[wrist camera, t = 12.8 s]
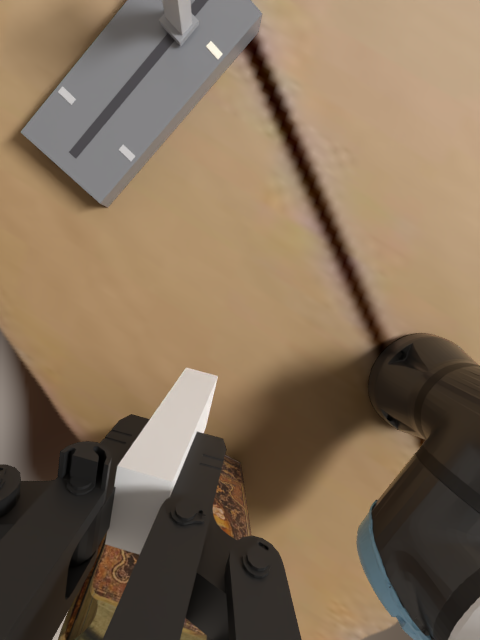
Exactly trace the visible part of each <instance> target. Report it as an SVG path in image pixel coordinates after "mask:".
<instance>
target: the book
mask: <svg viewBox="0 0 480 640" xmlns="http://www.w3.org/2000/svg"><path fill="white" fill-rule="evenodd" d="M213 515H214V518H215V520H216V522H217V524H218V525H219V527H220V528H221V529H222V530H223V531H224V532H226V533H227V534H228V535H230V536H231V537H233V538H234V539H236V540H239V539H241V538H242V537H246V536H251V529H250V522H249V515H248V508H247V501H246V494H245V488H244V481H243V474H242V467H241V464H240V462H238V461H236V460H234V459H232V458H230V457H228V456H226V455H225V457H224V461H223V466H222V470H221V474H220V478H219V482H218V486H217V490H216V494H215V498H214V502H213ZM106 536H107V532H106V534H105V536H104V538H103V539H102V541H101V543H100V545H99V546H98V553H97V557H96V560H95V563H94V565H93V567H92V569H91V571H90V572H89V574H88V576H87V578H86V580H85V581H84V583H83V585H82V587H81V589H80V590H79V592H78V594H77V596H76V598H75V599H74V601H73V603H72V605H71V607H70V608H69V611H68V613H67V616H66V618H65V621H64V624H63V626H62V629H61V632H60V635H59V638H58V640H102V639H103V637H104V635H105V632H106V630H107V628H108V626H109V623H110V621H111V619H112V617H113V614H114V612H115V610H116V607H117V605H118V603H119V601H120V598H121V596H122V594H123V591H124V589H125V587H126V585H127V582H128V580H129V578H130V575H131V573H132V571H133V569H134V566H135V564H136V562H137V560H138V557H139V554H136V553H133V552H129V551H126V550H123V549H119V548H116V547H113V546H109V545H106V544H105V542H106ZM180 640H207V635H206V634H204V633H203V632H202V631H201V630H199V629H198V628H197V627H196V626H195V625H193V624H192V623H191V622H190V621H189V620H187V619H186V618H185V622H184V626H183V630H182V634H181V638H180Z"/></svg>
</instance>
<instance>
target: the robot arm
mask: <svg viewBox="0 0 480 640" xmlns="http://www.w3.org/2000/svg"><path fill="white" fill-rule="evenodd" d="M217 378H218V376H216V375H212V374H208V373H205V372H201V371H197V370H194V369H190V368H186V369H185V370H184V371H183V373H182V374H181V376H180V377H179V379H178V380H177V381H176V383H175V384H174V386H173V387H172V389H171V390H170V391H169V393H168V394H167V396H166V397H165V399H164V400H163V401H162V403H161V404H160V406H159V407H158V409H157V410H156V411H155V413H154V414H153V416H152V417H151V419H147V418H143V417H139V416H136V415H132V414H131V415H129V416H127V417H125V418H123V419H121V420H119V421H118V423H117V424H116V425H115V426H114V427H113V428H112V430H111V431H110V432H109V433H108V434H107V435H106V437H105V439H103V440H102V441H101V442H100V443H97V442H90V441H86V442H78V443H75V444H72V445H69V446H67V447H66V448H65V449H63V450H61V451H60V459H59V469H58V477H57V478H56V480H52V481H21V477H20V472H19V471H18V470H17V469H16V468H15V467H12V466H8V465H0V640H52V639H53V637H54V635H55V633H56V632H57V630H58V628H59V626H60V624H61V623H62V621H63V619H64V617H65V616H66V613H67V612H68V610H69V608H70V607H71V605H72V603H73V601H74V599H75V598H76V596H77V594H78V592H79V590H80V589H81V587H82V585H83V583H84V581H85V580H86V578H87V576H88V574H89V572H90V571H91V569H92V567H93V565H94V563H95V560H96V557H97V553H98V546H99V545H100V543H101V541H102V539H103V538H104V536H105V534H106V532H107V536H106V542H105V544H106V545H109V546H113V547H116V548H119V549H123V550H126V551H129V552H133V553H136V554H139V557H138V560H137V562H136V564H135V566H134V569H133V571H132V573H131V575H130V578H129V580H128V582H127V585H126V587H125V589H124V591H123V594H122V596H121V598H120V601H119V603H118V605H117V607H116V610H115V612H114V614H113V617H112V619H111V621H110V623H109V626H108V628H107V630H106V632H105V635H104V637H103V639H102V640H180V638H181V634H182V630H183V626H184V622H185V618H186V619H187V620H189V621H190V622H191V623H192V624H193V625H195V626H196V627H197V628H198V629H199V630H201V631H202V632H203V633H204V634H206V635H207V640H301V636H300V632H299V627H298V623H297V619H296V615H295V611H294V606H293V602H292V598H291V594H290V590H289V586H288V581H287V577H286V573H285V569H284V565H283V562H282V559H281V557H280V555H279V552H278V551H277V550H276V549H275V548H274V547H273V545H272V544H270V543H269V542H267V541H266V540H264V539H263V538H259V537H255V536H246V537H242V538H241V539H239V540H236V539H234V538H233V537H231V536H230V535H228V534H227V533H226V532H224V531H223V530H222V529H221V528H220V527H219V525H218V524H217V522H216V520H215V518H214V515H213V502H214V498H215V494H216V490H217V486H218V482H219V478H220V474H221V470H222V466H223V461H224V457H225V453H226V446H225V443H224V440H223V439H222V438H218V437H215V436H211V435H208V434H204V431H205V428H206V424H207V420H208V416H209V412H210V407H211V403H212V399H213V395H214V390H215V386H216V382H217ZM368 388H369V396H370V400H371V403H372V405H373V407H374V409H375V410H376V412H377V413H378V414H379V415H380V416H381V417H382V418H383V419H384V420H385V421H386V422H387V423H389V424H390V425H391V426H393V427H394V428H396V429H398V430H400V431H402V432H405V433H408V434H411V435H414V436H417V437H420V438H423V439H426V441H425V442H424V443H423V445H422V446H421V447H420V449H419V450H418V451H417V452H416V453H415V454H414V456H413V457H412V458H411V459H410V461H409V462H408V463H407V464H406V466H405V467H404V468H403V469H402V471H401V472H400V473H399V474H398V476H397V477H396V478H395V479H394V481H393V482H392V483H391V484H390V486H389V487H388V488H387V489H386V491H385V492H384V493H383V494H382V496H381V497H380V498H379V499H378V500H376V501H375V502H374V503H373V504H372V505H371V508H370V511H369V513H368V514H367V516H366V517H365V519H364V520H363V521H362V523H361V524H360V526H359V528H358V532H357V534H358V535H357V550H358V555H359V559H360V562H361V565H362V567H363V570H364V572H365V574H366V576H367V578H368V580H369V582H370V584H371V586H372V588H373V590H374V591H375V593H376V595H377V597H378V598H379V600H380V601H381V603H382V604H383V606H384V607H385V608H386V610H387V611H388V612H389V614H390V615H391V616H392V617H396V618H397V619H398V621H399V623H400V625H401V627H402V629H403V630H404V631H405V632H406V633H407V634H408V635H409V636H410V637H412V638H413V639H414V640H480V366H479V365H478V364H477V363H476V362H475V361H474V360H473V359H472V358H471V357H470V356H469V355H467V354H466V353H465V352H464V351H463V350H462V349H461V348H460V347H459V346H458V345H456V344H455V343H453V342H451V341H449V340H447V339H444V338H442V337H439V336H436V335H432V334H426V333H419V334H412V335H408V336H405V337H403V338H400V339H398V340H397V341H395V342H393V343H392V344H391V345H389V346H388V347H387V348H386V349H385V350H384V351H383V352H382V353H381V354H380V356H379V357H378V358H377V360H376V362H375V363H374V365H373V368H372V370H371V373H370V377H369V386H368Z"/></svg>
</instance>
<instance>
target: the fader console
mask: <svg viewBox="0 0 480 640" xmlns="http://www.w3.org/2000/svg"><path fill="white" fill-rule="evenodd" d="M190 1H191V13H192V14H193V15H194V16H195V17H196V18H197V19H198V21H199V25H198V26H197V28H196V29H195V30H194V31H193V32H192V34H191V35H190V36H189V37H188V38H187V40H186V41H185V42H184V43H183V44H182V46H180V45H179V44H178V43H177V42H176V41H175V40H174V39H173V38H172V37H171V36H170V34H169V33H168V32H167V31H166V30H165V29H164V28H163V27H162V26H161V25H160V23H159V19H160V18H161V17H162V15H163V14H164V8H163V2H162V0H127V1H126V3H125V4H124V5H123V6H122V7H121V9H120V10H119V11H118V12H117V14H116V15H115V16H114V17H113V19H112V20H111V21H110V22H109V24H108V25H107V26H106V27H105V28H104V30H103V31H102V32H101V33H100V35H99V36H98V37H97V38H96V40H95V41H94V42H93V43H92V44H91V46H90V47H89V48H88V49H87V51H86V52H85V53H84V54H83V56H82V57H81V58H80V59H79V60H78V62H77V63H76V64H75V65H74V67H73V68H72V69H71V70H70V72H69V73H68V74H67V75H66V76H65V78H64V79H63V80H62V81H61V83H60V84H59V85H58V86H57V88H56V89H55V90H54V91H53V93H52V94H51V95H50V96H49V97H48V99H47V100H46V101H45V102H44V104H43V105H42V106H41V107H40V109H39V110H38V111H37V112H36V113H35V115H34V116H33V117H32V118H31V120H30V121H29V122H28V123H27V125H26V126H25V127H24V128H23V129H22V131H21V133H22V134H23V135H24V136H25V137H26V138H27V139H29V140H30V141H31V142H32V143H33V144H34V145H35V146H36V147H38V148H39V149H40V150H41V151H42V152H43V153H44V154H45V155H46V156H48V157H49V158H50V159H51V160H52V161H53V162H54V163H55V164H56V165H58V166H59V167H60V168H61V169H62V170H63V171H64V172H65V173H66V174H68V175H69V176H70V177H71V178H72V179H73V180H74V181H75V182H76V183H78V184H79V185H80V186H81V187H82V188H83V189H84V190H85V191H86V192H88V193H89V194H90V195H91V196H92V197H93V198H94V199H95V200H97V201H98V202H99V203H100V204H102V205H104V206H106V207H109V206H110V204H111V203H112V202H113V201H114V200H115V199H116V197H117V196H118V195H119V194H120V193H121V192H122V190H123V189H124V188H125V187H126V186H127V185H128V183H129V182H130V181H131V180H132V179H133V178H134V176H135V175H136V174H137V173H138V172H139V171H140V169H141V168H142V167H143V166H144V165H145V164H146V163H147V161H148V160H149V159H150V158H151V157H152V156H153V154H154V153H155V152H156V151H157V150H158V149H159V147H160V146H161V145H162V144H163V143H164V142H165V140H166V139H167V138H168V137H169V136H170V135H171V133H172V132H173V131H174V130H175V129H176V128H177V126H178V125H179V124H180V123H181V122H182V121H183V119H184V118H185V117H186V116H187V115H188V114H189V112H190V111H191V110H192V109H193V108H194V107H195V105H196V104H197V103H198V102H199V101H200V100H201V98H202V97H203V96H204V95H205V94H206V93H207V91H208V90H209V89H210V88H211V87H212V86H213V84H214V83H215V82H216V81H217V80H218V79H219V77H220V76H221V75H222V74H223V73H224V72H225V71H226V69H227V68H228V67H229V66H230V65H231V64H232V62H233V61H234V60H235V59H236V58H237V57H238V55H239V54H240V53H241V52H242V51H243V50H244V48H245V47H246V46H247V45H248V44H249V43H250V41H251V40H252V39H253V38H254V37H255V36H256V34H257V33H258V32H259V27H260V23H261V18H262V13H261V12H260V10H259V9H258V8H257V7H256V6H255V5H254V3H253V2H252V1H251V0H190Z"/></svg>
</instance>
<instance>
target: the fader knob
mask: <svg viewBox="0 0 480 640" xmlns="http://www.w3.org/2000/svg"><path fill="white" fill-rule="evenodd" d="M162 2H163V8H164V14H163V15H162V17H161V18H160V19H159V23H160V25H161V26H162V27H163V28H164V29H165V30H166V31H167V32H168V33H169V34H170V36H171V37H172V38H173V39H174V40H175V41H176V42H177V43H178V44H179V45H180V46H182V44H183V43H184V42H185V41H186V40H187V38H188V37H189V36H190V35H191V34H192V32H193V31H194V30H195V29H196V28H197V26H198V25H199V21H198V19H197V18H196V17H195V16H194V15H193V14H192V13H191V1H190V0H162Z"/></svg>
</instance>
